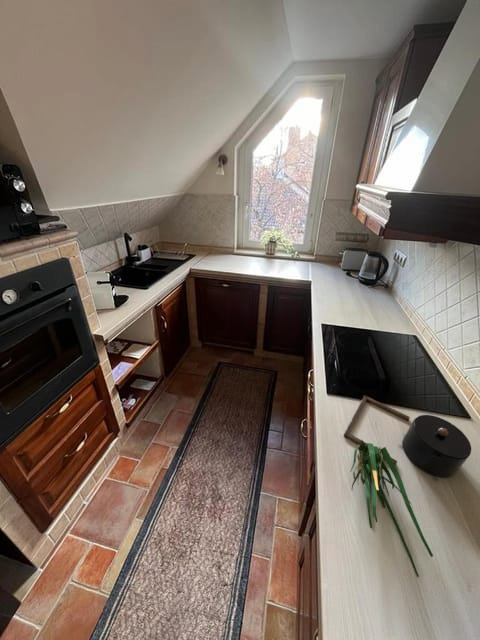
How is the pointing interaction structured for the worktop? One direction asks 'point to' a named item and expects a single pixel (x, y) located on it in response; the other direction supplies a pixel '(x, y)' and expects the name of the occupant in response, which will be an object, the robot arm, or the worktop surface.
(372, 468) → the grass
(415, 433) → the pot
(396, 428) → the worktop surface
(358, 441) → the brown bent strip
